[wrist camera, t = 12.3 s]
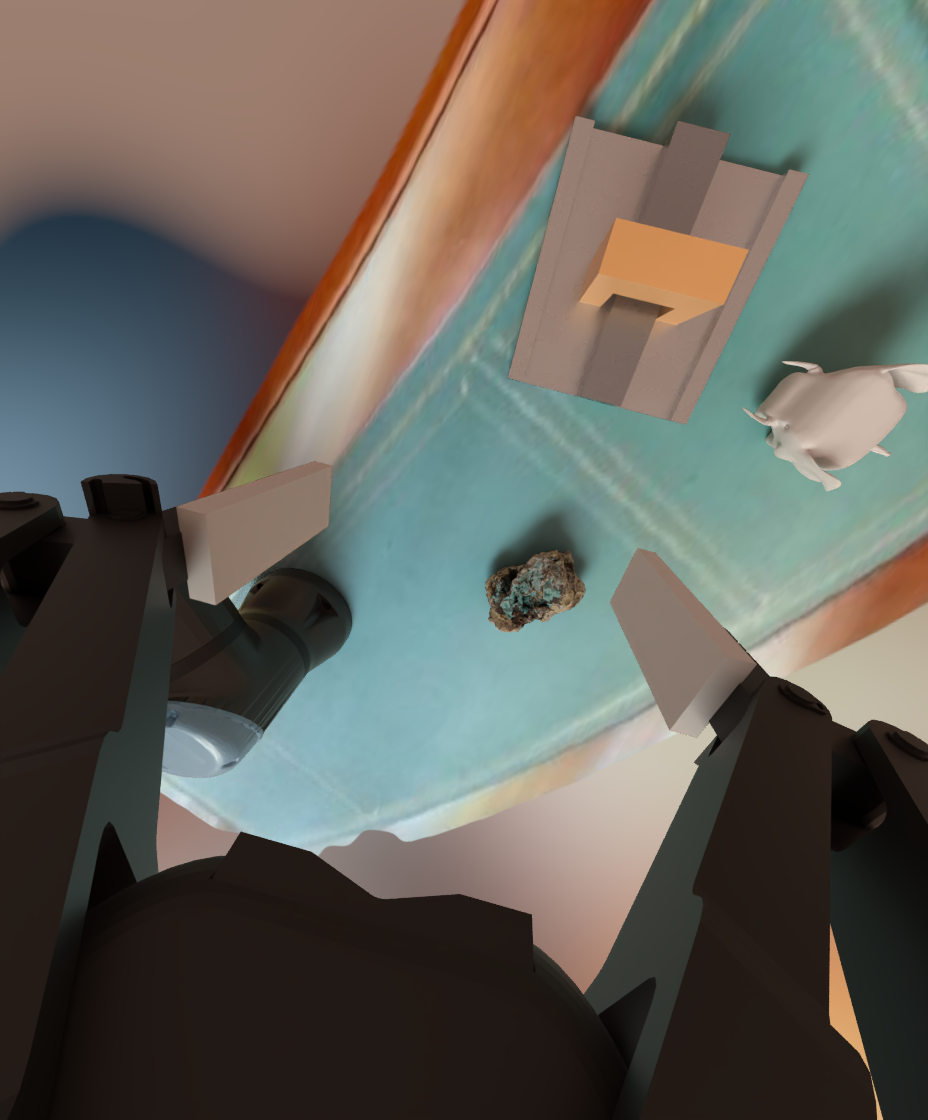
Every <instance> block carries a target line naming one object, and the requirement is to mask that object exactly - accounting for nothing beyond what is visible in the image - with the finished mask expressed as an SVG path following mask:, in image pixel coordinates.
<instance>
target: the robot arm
mask: <svg viewBox="0 0 928 1120" xmlns="http://www.w3.org/2000/svg"><path fill="white" fill-rule="evenodd" d="M331 478H332V466H330V465H326V464H323V463H319V462H315V461H314V462H311V463H308V464H305V465H302V466H299V467H296V468H293V469H290V470H287V471H284V472H281V473H278V474H275V475H271V476H268V477H265V478H262V479H259V480H256V481H253V482H250V483H247V484H244V485H241V486H238V487H235V488H232V489H229V490H226V491H223V492H219V493H216V494H213V495H210V496H207V497H204V498H201V499H198V500H195V501H192V502H189V503H185V504H182V505H179V506H176V507H173V508H170V509H167V510H164V511H162V509H161V503H160V497H159V491H158V486H157V483H156V481H154V480H152V479H150V478H147V477H142V476H136V475H127V474H109V475H98V476H94V477H90V478H86V479H84V480H83V481H81V484H82V488H83V492H84V496H85V499H86V503H87V507H88V511H89V514H90V516H89V517H88V519H83V518H74V517H65V516H63V513H62V510H61V507H60V504H59V501H58V500H57V499H56V498H54V497H51V496H48V495H41V494H33V493H31V494H30V493H25V492H5V493H0V1120H877V1112H876V1111H877V1110H876V1100H875V1095H874V1090H873V1085H872V1080H873V1084H874V1087H875V1091H876V1094H877V1098H878V1102H879V1106H880V1110H881V1113H882V1117H883V1120H928V744H926V743H925V742H924V741H922V740H921V739H918V738H917V737H916V736H914V735H913V734H911V733H909V732H907V731H903V730H900V729H899V728H897V727H895V726H892V725H890V724H887V723H885V722H882V721H878V720H871V721H868V722H867V723H866V724H865V725H864V726H863V727H862V728H860V729H859V730H858V731H857V732H856V731H854V730H851V729H849V728H847V727H845V726H842V725H840V724H838V723H836V722H833V721H832V716H831V714H830V712H829V710H828V709H827V708H826V706H825V705H823V703H821V702H820V701H819V700H818V699H816V698H815V697H814V696H813V695H812V694H810V693H809V692H808V691H806V690H804V689H803V688H801V687H799V686H797V685H795V684H793V683H791V682H789V681H787V680H784V679H781V678H778V677H770V676H769V675H768V674H767V673H766V672H765V671H764V670H763V668H762V667H761V666H760V665H759V664H758V663H757V662H756V661H755V660H754V659H753V657H752V656H751V655H750V654H749V653H747V652H746V650H745V649H744V648H743V647H742V645H741V644H739V643H738V641H737V640H736V639H735V638H734V637H733V636H732V635H731V633H730V632H729V631H728V630H726V629H725V628H724V627H722V625H721V624H720V623H719V622H718V621H717V620H716V619H715V618H714V617H713V616H712V614H711V613H710V612H709V611H708V610H707V609H706V608H705V607H704V606H703V604H702V603H701V602H700V601H699V600H698V599H697V598H696V597H695V596H694V595H693V593H692V592H691V591H690V590H689V589H688V588H687V587H686V586H685V585H684V584H683V582H682V581H681V580H680V579H679V578H678V577H677V576H676V575H675V574H674V573H673V571H672V570H671V569H670V568H669V567H668V566H667V565H666V564H665V563H664V562H663V560H662V559H661V558H660V557H659V556H658V555H657V554H656V553H654V552H651V551H647V550H643V549H639V548H637V550H636V552H635V554H634V556H633V558H632V560H631V562H630V564H629V566H628V568H627V570H626V572H625V573H624V575H623V577H622V579H621V581H620V583H619V585H618V587H617V589H616V591H615V593H614V595H613V597H612V599H611V601H610V604H611V606H612V608H613V610H614V612H615V614H616V617H617V619H618V621H619V623H620V625H621V627H622V629H623V632H624V634H625V636H626V638H627V640H628V642H629V644H630V647H631V649H632V651H633V653H634V655H635V657H636V659H637V662H638V664H639V666H640V668H641V670H642V672H643V674H644V676H645V679H646V681H647V683H648V685H649V687H650V689H651V691H652V694H653V696H654V698H655V700H656V702H657V704H658V706H659V709H660V711H661V713H662V715H663V717H664V719H665V721H666V724H667V726H668V728H669V730H670V731H674V732H677V733H681V734H685V735H688V736H692V737H696V738H697V737H698V736H699V735H700V733H701V732H702V731H703V730H704V728H705V727H706V726H707V725H708V724H709V722H710V724H711V726H712V727H713V729H714V731H715V732H716V734H717V736H716V737H715V738H714V740H713V741H712V742H711V743H710V744H709V745H708V746H707V748H706V749H705V750H704V751H703V752H702V753H701V755H700V756H699V757H698V758H697V759H696V760H695V762H694V763H695V764H697V765H699V767H698V769H697V771H696V773H695V775H694V777H693V779H692V781H691V783H690V786H689V788H688V790H687V792H686V794H685V796H684V798H683V800H682V802H681V805H680V806H679V809H678V811H677V813H676V815H675V817H674V819H673V821H672V823H671V825H670V827H669V830H668V832H667V834H666V836H665V838H664V840H663V842H662V844H661V846H660V849H659V851H658V853H657V855H656V857H655V859H654V861H653V863H652V865H651V867H650V869H649V872H648V874H647V876H646V878H645V880H644V882H643V884H642V886H641V888H640V890H639V893H638V895H637V897H636V899H635V901H634V904H633V905H632V907H631V909H630V912H629V914H628V916H627V918H626V920H625V922H624V924H623V926H622V928H621V930H620V932H619V935H618V937H617V939H616V941H615V943H614V945H613V947H612V949H611V952H610V953H609V956H608V958H607V960H606V962H605V963H604V966H603V967H602V969H601V970H600V972H599V974H598V975H597V977H596V978H595V979H594V981H593V982H592V984H591V985H590V986H589V988H588V989H587V991H586V992H585V994H584V995H583V994H582V992H581V991H580V989H579V988H578V987H577V985H576V984H575V983H574V982H573V981H572V980H571V979H570V977H569V976H568V975H567V974H566V973H565V972H564V971H563V970H562V969H561V967H560V966H559V965H558V964H557V963H556V962H554V961H553V960H552V959H551V958H550V957H549V956H548V955H547V954H546V953H544V952H543V951H542V950H541V949H539V948H538V947H537V946H535V945H534V944H533V934H532V933H533V932H532V915H531V914H528V913H524V912H521V911H517V910H514V909H510V908H507V907H503V906H500V905H496V904H493V903H489V902H486V901H482V900H479V899H475V898H472V897H468V896H464V895H461V894H455V895H440V896H427V897H412V898H398V899H380V898H377V897H374V896H372V895H371V894H369V893H368V892H367V891H365V890H364V889H362V888H361V887H360V886H358V885H357V884H355V883H354V882H353V881H351V880H350V879H349V878H347V877H346V876H344V875H343V874H342V873H340V872H339V871H337V870H336V869H335V868H333V867H332V866H330V865H329V864H327V863H326V862H325V861H323V860H322V859H321V858H319V857H318V856H317V855H315V854H314V853H312V852H310V851H307V850H303V849H300V848H296V847H293V846H289V845H286V844H282V843H279V842H275V841H272V840H268V839H265V838H261V837H258V836H254V835H251V834H247V833H244V832H240V834H239V836H238V837H237V839H236V840H235V842H234V843H233V845H232V847H231V848H230V850H229V851H228V853H227V855H226V856H216V857H211V858H205V859H199V860H194V861H191V862H188V863H184V864H181V865H178V866H175V867H171V868H169V869H166V870H164V871H162V872H159V873H158V862H157V850H156V834H157V820H158V809H159V797H160V786H161V774H162V772H165V773H169V774H172V775H177V776H182V777H191V778H207V777H214V776H218V775H221V774H223V773H226V772H228V771H229V770H231V769H232V768H234V767H235V766H236V765H237V764H238V763H239V762H240V761H241V760H242V759H243V758H244V756H245V755H246V754H247V753H248V752H249V751H250V750H251V748H252V747H253V746H254V745H255V744H256V743H257V742H258V741H259V740H260V739H261V738H262V736H263V734H264V732H265V730H266V729H267V727H268V726H269V725H270V723H271V722H272V721H273V719H274V718H275V717H276V715H277V714H278V712H279V711H280V710H281V708H282V707H283V706H284V704H285V703H286V702H287V700H288V699H289V697H290V696H291V695H292V693H293V692H294V691H295V689H296V688H297V687H298V685H299V684H300V682H301V681H302V680H303V678H304V677H305V676H306V674H307V673H308V672H309V671H311V670H312V669H314V668H315V667H317V666H319V665H320V664H321V663H323V662H324V661H326V660H327V659H329V658H331V657H332V656H333V655H335V654H336V653H337V652H338V651H339V650H340V649H341V647H342V646H343V644H344V643H345V641H346V640H347V638H348V637H349V634H350V631H351V615H350V611H349V608H348V606H347V604H346V602H345V600H344V599H343V597H342V596H341V595H340V593H339V592H338V591H337V590H336V589H335V588H334V587H333V586H332V585H331V584H329V583H328V582H327V581H325V580H324V579H322V578H321V577H319V576H317V575H315V574H313V573H310V572H307V571H304V570H299V569H280V570H276V571H273V572H271V573H269V574H268V575H266V576H265V577H263V578H262V579H261V580H259V581H258V582H257V583H256V584H255V585H254V586H253V587H252V588H251V589H250V591H249V592H248V594H247V596H246V598H245V599H244V601H243V603H242V604H241V606H240V608H239V610H237V608H236V607H235V605H234V604H233V603H232V601H231V600H230V598H229V597H228V596H230V595H231V594H233V593H234V592H235V591H237V590H238V589H240V588H241V587H243V586H244V585H245V584H247V583H248V582H250V581H251V580H253V579H254V578H255V577H257V576H258V575H260V574H261V573H262V572H264V571H265V570H267V569H268V568H270V567H271V566H272V565H274V564H275V563H277V562H278V561H280V560H281V559H282V558H284V557H285V556H287V555H288V554H290V553H291V552H292V551H294V550H295V549H297V548H298V547H300V546H301V545H302V544H304V543H305V542H307V541H308V540H310V539H311V538H312V537H314V536H315V535H317V534H318V533H319V532H321V531H322V530H324V529H325V528H327V527H328V526H329V510H330V494H331ZM830 924H831V928H832V931H833V935H834V939H835V943H836V946H837V950H838V953H839V957H840V961H841V965H842V969H843V972H844V976H845V980H846V983H847V987H848V991H849V994H850V998H851V1002H852V1006H853V1009H854V1013H855V1016H856V1020H857V1024H858V1028H859V1032H860V1035H861V1039H862V1043H863V1046H864V1050H865V1053H866V1057H867V1061H868V1065H869V1069H870V1072H871V1074H870V1072H869V1070H868V1068H867V1066H866V1065H865V1063H864V1061H863V1059H862V1058H861V1056H860V1054H859V1053H858V1051H857V1050H856V1049H854V1048H853V1046H852V1045H851V1044H850V1043H848V1041H846V1040H845V1038H843V1037H842V1036H841V1035H840V1034H839V1033H838V1032H837V1031H836V1030H835V1029H834V1028H833V1027H832V1026H831V1025H830V1018H829V961H830V959H829V958H830V956H829V955H830ZM871 1076H872V1080H871Z"/></svg>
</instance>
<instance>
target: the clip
mask: <svg viewBox="0 0 928 1120" xmlns="http://www.w3.org/2000/svg"><path fill="white" fill-rule="evenodd" d="M748 251H749V250H748V249H743V248H739V247H735V246H731V245H727V244H723V243H719V242H715V241H710V240H706V239H702V238H698V237H694V236H690V235H686V234H681V233H677V232H673V231H669V230H665V229H661V228H657V227H653V226H648V225H644V224H640V223H636V222H632V221H628V220H624V219H619V218H616V219H615V221H614V222H613V224H612V226H611V228H610V229H609V231H608V233H607V235H606V236H605V238H604V240H603V242H602V243H601V245H600V247H599V249H598V250H597V252H596V254H595V255H594V257H593V259H592V261H591V264H590V268H589V271H588V274H587V278H586V281H585V284H584V287H583V291H582V294H581V297H580V300H579V301H580V302H584V303H588V304H592V305H596V306H600V307H601V306H602V305H603V304H604V303H605V302H606V301H607V300H608V299H609V297H610V296H611V295H612V294H613V293H614V294H618V295H622V296H626V297H630V298H634V299H638V300H642V301H646V302H650V303H654V304H658V305H662V306H661V308H660V311H659V313H658V316H657V318H656V320H657V321H661V322H665V323H669V324H673V325H678V324H680V323H682V322H684V321H687V320H689V319H691V318H694V317H696V316H698V315H700V314H703V313H705V312H707V311H710V310H712V309H714V308H716V307H719V306H721V305H723V304H724V303H725V301H726V299H727V297H728V294H729V292H730V290H731V288H732V286H733V284H734V281H735V279H736V277H737V275H738V273H739V271H740V268H741V266H742V264H743V262H744V260H745V258H746V255H747V253H748Z"/></svg>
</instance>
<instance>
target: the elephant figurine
mask: <svg viewBox="0 0 928 1120" xmlns="http://www.w3.org/2000/svg"><path fill="white" fill-rule="evenodd" d="M781 362H783V363H785V364H789V365H795V366H800V367H803V368H806V369H807V370H808V372H807V373H801V372H795V373H792V374H790V375H788V376H787V377H785V378H784V379H783V380H781V382H780V383H779V384H778V385H777V386H776V388H775V389H774V390H773V391H772V393H771V394H770V395H769V396H768V397H767V398H766V399H765V401H764V402H763V403H762V404H761V405H760V406H759V407H758V409H757V410H756V412H755V414H753V413H751V412H750V411H748V410H747V409H745V408H744V407H743V408H742V409H743V410H744V411H745V412H747V413H748V414H749V415H750V416H751V417H752V418H754V419H755V420H757V421H758V422H760V423H762V424H763V425H767V426H771V428H772V432H771V433H770V434H769V435H768V436H767V438H766V442H767V444H768V445H770V446H771V447H773V448H774V449H775V450H774V454H775V456H777V457H778V458H782V459H784V460H787V461H791V462H792V463H793V464H794V466H795V467H796V468H797V469H798V471H799V472H801V473H802V474H803V475H804V476H806V477H807V478H809V479H811V480H815V481H818V482H822V484H823V485H824V487H825V489H826V491H829V490H832V489H835V488H838V487H840V486H841V482H840V481H839V480H838V479H837V478H836V477H834V476H832V475H831V474H829V473H827V472H826V471H824V470H838V469H842V468H845V467H848V466H850V465H852V464H854V463H855V462H857V461H858V460H860V459H861V458H862V457H863V456H865V455H866V454H867V453H868V452H869V451H873V452H876V453H878V454H884V455H885V456H886V457H887V456H890V454H891V452H887V451H886V449H884V448H883V447H881V446H880V445H878V443H879V442H880V441H881V440H882V439H883V438H884V437H885V436H886V435H887V434H888V433H889V432H890V431H891V430H892V429H893V428H894V427H895V426H896V424H897V423H898V422H899V420H900V419H901V418H902V417H903V415H904V413H905V411H906V409H907V403H906V401H905V399H904V398H903V396H902V395H901V394H900V393H899V392H898V391H897V390H896V389H895V387H897V388H904V389H906V390H908V391H911V392H915V393H922V392H927V391H928V365H926V364H896V365H873V366H858V367H852V368H848V369H844V370H839V371H835V372H831V373H823V370H822V369H821V367H818V365H816V364H812V363H806V362H800V361H781Z"/></svg>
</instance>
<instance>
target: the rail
mask: <svg viewBox="0 0 928 1120" xmlns="http://www.w3.org/2000/svg"><path fill="white" fill-rule="evenodd" d="M594 123H595V121H594V120H590V119H586V118H582V117H578V116H576V117H575V121H574V125H573V129H572V133H571V137H570V140H569V144H568V148H567V152H566V156H565V160H564V164H563V167H562V171H561V175H560V179H559V183H558V187H557V191H556V195H555V198H554V202H553V206H552V210H551V214H550V218H549V222H548V225H547V229H546V233H545V237H544V241H543V245H542V249H541V253H540V256H539V260H538V264H537V268H536V272H535V276H534V280H533V283H532V287H531V291H530V295H529V299H528V303H527V307H526V311H525V314H524V318H523V322H522V326H521V330H520V334H519V338H518V341H517V345H516V349H515V353H514V357H513V361H512V365H511V368H510V372H509V376H508V378H509V379H512V380H516V381H520V382H524V383H528V384H532V385H535V386H539V387H543V388H547V389H551V390H554V391H558V392H562V393H566V394H570V395H573V396H577V397H581V398H585V399H589V400H593V401H596V402H600V403H604V404H608V405H612V406H615V407H619V408H623V409H627V410H631V411H634V412H638V413H642V414H646V415H650V416H653V417H657V418H661V419H665V420H669V421H673V422H676V423H681V424H686V423H687V421H688V419H689V417H690V415H691V413H692V411H693V409H694V407H695V405H696V403H697V401H698V399H699V397H700V395H701V393H702V391H703V389H704V387H705V385H706V383H707V381H708V379H709V377H710V375H711V373H712V370H713V368H714V366H715V364H716V362H717V360H718V358H719V356H720V354H721V352H722V350H723V348H724V346H725V344H726V342H727V340H728V338H729V336H730V334H731V332H732V330H733V328H734V326H735V324H736V322H737V320H738V318H739V316H740V314H741V311H742V309H743V307H744V305H745V303H746V301H747V299H748V297H749V295H750V293H751V291H752V289H753V287H754V285H755V283H756V281H757V279H758V277H759V275H760V273H761V271H762V269H763V267H764V265H765V263H766V261H767V259H768V257H769V255H770V252H771V250H772V248H773V246H774V244H775V242H776V240H777V238H778V236H779V234H780V232H781V230H782V228H783V226H784V224H785V222H786V220H787V218H788V216H789V214H790V212H791V210H792V208H793V206H794V204H795V202H796V200H797V198H798V195H799V193H800V191H801V189H802V187H803V185H804V183H805V181H806V179H807V177H808V175H809V174H806V173H802V172H798V171H794V170H790V169H789V170H788V171H787V172H785V173H784V174H783V175H778V174H774V173H770V172H766V171H762V170H758V169H754V168H750V167H746V166H742V165H738V164H734V163H730V162H726V161H722V160H720V159H721V157H722V154H723V152H724V149H725V147H726V144H727V142H728V139H729V137H730V134H729V133H725V132H721V131H717V130H713V129H709V128H705V127H701V126H697V125H693V124H689V123H685V122H681V121H678V122H677V123H676V125H675V127H674V128H673V130H672V132H671V133H670V135H669V137H668V138H667V140H666V142H665V143H664V145H659V144H655V143H651V142H647V141H643V140H639V139H635V138H631V137H627V136H623V135H619V134H615V133H611V132H607V131H603V130H599V129H595V128H593V126H594ZM616 218H619V219H624V220H628V221H632V222H636V223H640V224H644V225H648V226H653V227H657V228H661V229H665V230H669V231H673V232H677V233H681V234H686V235H690V236H694V237H698V238H702V239H706V240H710V241H715V242H719V243H723V244H727V245H731V246H735V247H739V248H743V249H748V250H749V251H748V253H747V255H746V258H745V260H744V262H743V264H742V266H741V268H740V271H739V273H738V275H737V277H736V279H735V281H734V284H733V286H732V288H731V290H730V292H729V294H728V297H727V299H726V301H725V303H724V304H723V305H721V306H719V307H716V308H714V309H712V310H710V311H707V312H705V313H703V314H700V315H698V316H696V317H694V318H691V319H689V320H687V321H684V322H682V323H680V324H678V325H673V324H669V323H665V322H661V321H657V320H656V318H657V316H658V313H659V311H660V308H661V306H662V305H658V304H654V303H650V302H646V301H642V300H638V299H634V298H630V297H626V296H622V295H618V294H614V293H613V294H612V295H611V296H610V297H609V299H608V300H607V301H606V302H605V303H604V304H603V305H602V306H601V307H600V306H596V305H592V304H588V303H584V302H580V301H579V300H580V297H581V294H582V291H583V287H584V284H585V281H586V278H587V274H588V271H589V268H590V264H591V261H592V259H593V257H594V255H595V254H596V252H597V250H598V249H599V247H600V245H601V243H602V242H603V240H604V238H605V236H606V235H607V233H608V231H609V229H610V228H611V226H612V224H613V222H614V221H615V219H616Z"/></svg>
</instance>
